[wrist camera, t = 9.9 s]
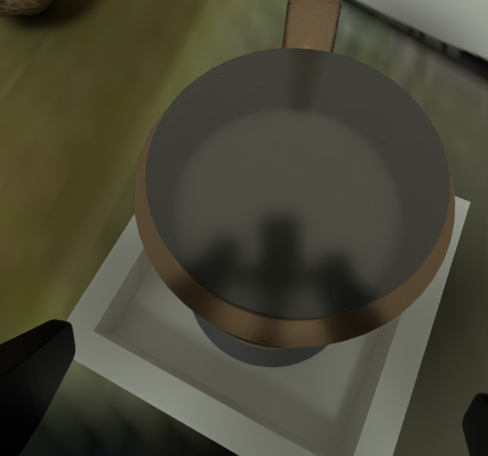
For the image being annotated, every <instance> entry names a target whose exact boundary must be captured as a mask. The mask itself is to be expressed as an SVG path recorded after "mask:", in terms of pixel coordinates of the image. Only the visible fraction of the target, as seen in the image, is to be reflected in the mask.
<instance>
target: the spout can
mask: <svg viewBox="0 0 488 456" xmlns="http://www.w3.org/2000/svg"><path fill="white" fill-rule="evenodd" d="M342 1H343V0H288V3H287V11H286V19H285V27H284V35H283V43H282V49H271V50H265V51H258V52H254V53H251V54H247V55H243V56H240V57H237V58H235V59H232V60H229V61H227V62H224V63H223V64H221V65H219V66H217V67H215V68H213V69H211V70H209V71H208V72H206V73H205V74H203V75H202V76H200V77H199V78H197V79H196V80H195V81H194V82H192V83H191V84H190V85H189V86H188V87H186V88H185V89H184V90H183V91H182V92H181V93H180V94H179V96H178V97H177V98H176V99H175V100H174V101H173V102H172V104H171V105H170V106H169V108H168V109H167V110H166V111H165V112H164V113H163V115H162V116H161V118H160V119H159V120H158V122H157V123H156V125H155V126H154V127H153V129H152V131H151V133H150V135H149V137H148V139H147V140H146V142H145V145H144V147H143V150H142V153H141V155H140V158H139V161H138V166H137V170H136V175H135V183H134V196H133V197H134V212H135V219H136V223H137V228H138V233H139V236H140V239H141V241H142V244H143V247H144V249H145V252H146V254H147V256H148V258H149V260H150V262H151V263H152V265H153V267H154V269H155V271H156V272H157V274H158V275H159V276H160V278H161V279H162V280H163V282H164V283H165V284H166V286H167V287H168V288H169V289H170V290H171V291H172V292H173V293H174V294H175V295H176V296H177V297H178V298H179V299H180V300H181V301H182V302H183V303H184V304H185V305H186V306H187V307H188V308H190V309H191V310H192V311H194V312H195V313H196V314H198V315H199V316H200V317H202V318H203V319H205V320H206V321H208V322H209V323H211V324H212V325H214V326H215V327H217V328H218V329H220V330H222V331H223V332H225V333H226V334H228V335H229V336H231V337H232V338H234V339H236V340H237V341H239V342H241V343H243V344H245V345H248V346H250V347H254V348H258V349H266V350H277V349H290V348H302V347H314V346H322V345H328V344H333V343H339V342H344V341H347V340H350V339H353V338H356V337H359V336H362V335H365V334H367V333H369V332H371V331H373V330H375V329H377V328H379V327H381V326H383V325H385V324H387V323H388V322H390V321H391V320H392V319H394V318H395V317H397V316H398V315H400V314H401V313H402V312H404V311H405V310H406V309H407V308H408V307H409V306H410V305H411V304H413V303H414V302H415V301H416V300H417V299H418V298H419V297H420V296H421V295H422V293H423V292H424V291H425V289H426V288H427V287H428V286H429V284H430V283H431V282H432V280H433V279H434V278H435V276H436V274H437V272H438V270H439V268H440V266H441V265H442V263H443V261H444V259H445V256H446V253H447V250H448V247H449V244H450V242H451V237H452V232H453V227H454V221H455V195H454V186H453V180H452V176H451V172H450V169H449V165H448V162H447V160H446V156H445V152H444V148H443V146H442V143H441V141H440V139H439V136H438V134H437V132H436V130H435V128H434V127H433V125H432V123H431V121H430V120H429V118H428V116H427V115H426V114H425V113H424V111H423V110H422V109H421V107H420V106H419V105H418V103H417V102H416V101H415V100H414V99H413V98H412V97H411V96H410V95H409V94H408V93H407V92H406V91H405V90H404V89H402V88H401V87H400V86H399V85H397V84H396V83H395V82H394V81H392V80H391V79H390V78H388V77H387V76H385V75H383V74H382V73H380V72H379V71H377V70H376V69H373V68H371V67H369V66H367V65H365V64H363V63H361V62H359V61H356V60H354V59H351V58H348V57H345V56H342V55H338V54H334V53H333V50H334V45H335V39H336V34H337V28H338V23H339V18H340V12H341V7H342Z"/></svg>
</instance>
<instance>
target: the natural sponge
mask: <svg viewBox="0 0 488 456" xmlns="http://www.w3.org/2000/svg"><path fill="white" fill-rule="evenodd" d="M52 1H53V0H0V17H9V16H17V15H21V14H22V15H35V14H38V13H40V12H42V11H43V10H45V9H46V8H47V7H48V6H49V5H50V4H51V2H52Z"/></svg>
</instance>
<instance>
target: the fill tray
mask: <svg viewBox="0 0 488 456" xmlns="http://www.w3.org/2000/svg"><path fill="white" fill-rule="evenodd" d="M469 205H470V202H469V201H466V200H464V199H461V198H459V197H456V196H455V221H454V227H453V232H452V237H451V242H450V244H449V247H448V250H447V253H446V256H445V259H444V261H443V263H442V265H441V266H440V268H439V270H438V272H437V274H436V276H435V278H434V279H433V280H432V282H431V283H430V284H429V286H428V287H427V288H426V289H425V291H424V292H423V293H422V295H421V296H420V297H419V298H418V299H417V300H416V301H415V302H414V303H413V304H411V305H410V306H409V307H408V308H407V309H406V310H405V311H404V312H402V313H401V314H400V315H398V316H397V317H395V318H394V319H392V320H391V321H390V322H388V323H387V324H385V325H383V326H381V327H379V328H377V329H375V330H373V331H371V332H369V333H367V334H365V335H362V336H359V337H356V338H353V339H350V340H347V341H344V342H339V343H333V344H328V345H322V346H314V347H302V348H290V349H277V350H266V349H258V348H254V347H250V346H248V345H245V344H243V343H241V342H239V341H237V340H236V339H234V338H232V337H231V336H229V335H228V334H226V333H225V332H223V331H222V330H220V329H218V328H217V327H215V326H214V325H212V324H211V323H209V322H208V321H206V320H205V319H203V318H202V317H200V316H199V315H198V314H196V313H195V312H194V311H192V310H191V309H190V308H188V307H187V306H186V305H185V304H184V303H183V302H182V301H181V300H180V299H179V298H178V297H177V296H176V295H175V294H174V293H173V292H172V291H171V290H170V289H169V288H168V287H167V286H166V284H165V283H164V282H163V280H162V279H161V278H160V276H159V275H158V274H157V272H156V271H155V269H154V267H153V265H152V263H151V262H150V260H149V258H148V256H147V254H146V252H145V249H144V247H143V244H142V241H141V239H140V236H139V233H138V228H137V223H136V219H135V214H134V215H133V217H132V219H131V220H130V222H129V223H128V225H127V226H126V228H125V230H124V231H123V233H122V234H121V236H120V237H119V239H118V241H117V242H116V244H115V245H114V247H113V248H112V250H111V252H110V253H109V255H108V256H107V258H106V259H105V261H104V263H103V264H102V266H101V267H100V269H99V270H98V272H97V274H96V275H95V277H94V278H93V280H92V281H91V283H90V285H89V286H88V288H87V289H86V291H85V292H84V294H83V296H82V297H81V299H80V300H79V302H78V303H77V305H76V307H75V308H74V310H73V311H72V313H71V314H70V316H69V318H68V319H67V321H68V322H70V323H71V324H72V326H73V332H74V339H75V346H76V352H75V356H74V360H76V361H77V362H79V363H81V364H83V365H84V366H86V367H88V368H89V369H91V370H93V371H95V372H96V373H98V374H100V375H101V376H103V377H105V378H107V379H108V380H110V381H112V382H114V383H115V384H117V385H119V386H120V387H122V388H124V389H126V390H127V391H129V392H131V393H132V394H134V395H136V396H138V397H139V398H141V399H143V400H144V401H146V402H148V403H150V404H151V405H153V406H155V407H156V408H158V409H160V410H162V411H163V412H165V413H167V414H169V415H170V416H172V417H174V418H175V419H177V420H179V421H181V422H182V423H184V424H186V425H187V426H189V427H191V428H193V429H194V430H196V431H198V432H199V433H201V434H203V435H205V436H206V437H208V438H210V439H212V440H213V441H215V442H217V443H218V444H220V445H222V446H224V447H225V448H227V449H229V450H230V451H232V452H234V453H236V454H237V455H239V456H393V453H394V450H395V447H396V443H397V440H398V437H399V433H400V430H401V427H402V424H403V420H404V417H405V414H406V411H407V407H408V404H409V401H410V398H411V394H412V391H413V388H414V385H415V381H416V378H417V375H418V372H419V368H420V365H421V362H422V358H423V355H424V352H425V349H426V345H427V342H428V339H429V336H430V332H431V329H432V326H433V323H434V319H435V316H436V313H437V310H438V306H439V303H440V300H441V296H442V293H443V290H444V287H445V283H446V280H447V277H448V274H449V270H450V267H451V264H452V261H453V257H454V254H455V251H456V248H457V244H458V241H459V238H460V235H461V231H462V228H463V225H464V221H465V218H466V215H467V212H468V208H469Z"/></svg>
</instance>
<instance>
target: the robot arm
mask: <svg viewBox="0 0 488 456" xmlns="http://www.w3.org/2000/svg"><path fill="white" fill-rule="evenodd" d="M75 352H76V346H75V339H74V332H73V326H72V324H71V323H70V322H68V321H63V320H57V319H53V320H50V321H47V322H45V323H43V324H41V325H39V326H37V327H35V328H33V329H31V330H29V331H27V332H25V333H23V334H21V335H19V336H17V337H15V338H13V339H11V340H8V341H6V342H4V343H2V344H0V456H19V455H20V453H21V452H22V450H23V449H24V447H25V445H26V444H27V442H28V441H29V439H30V438H31V436H32V435H33V433H34V431H35V430H36V428H37V427H38V425H39V423H40V422H41V420H42V418H43V416H44V414H45V412H46V411H47V409H48V407H49V405H50V403H51V401H52V399H53V397H54V395H55V393H56V391H57V389H58V388H59V386H60V384H61V382H62V380H63V378H64V376H65V374H66V372H67V370H68V368H69V366H70V364H71V363H72V361H73V359H74V356H75ZM462 426H463V432H464V436H465V440H466V444H467V447H468V451H469V455H470V456H488V393H482V392H481V393H478V394H476V395H475V396H474V398H473V400H472V402H471V404H470V406H469V407H468V409H467V411H466V413H465V415H464V417H463V421H462Z"/></svg>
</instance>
